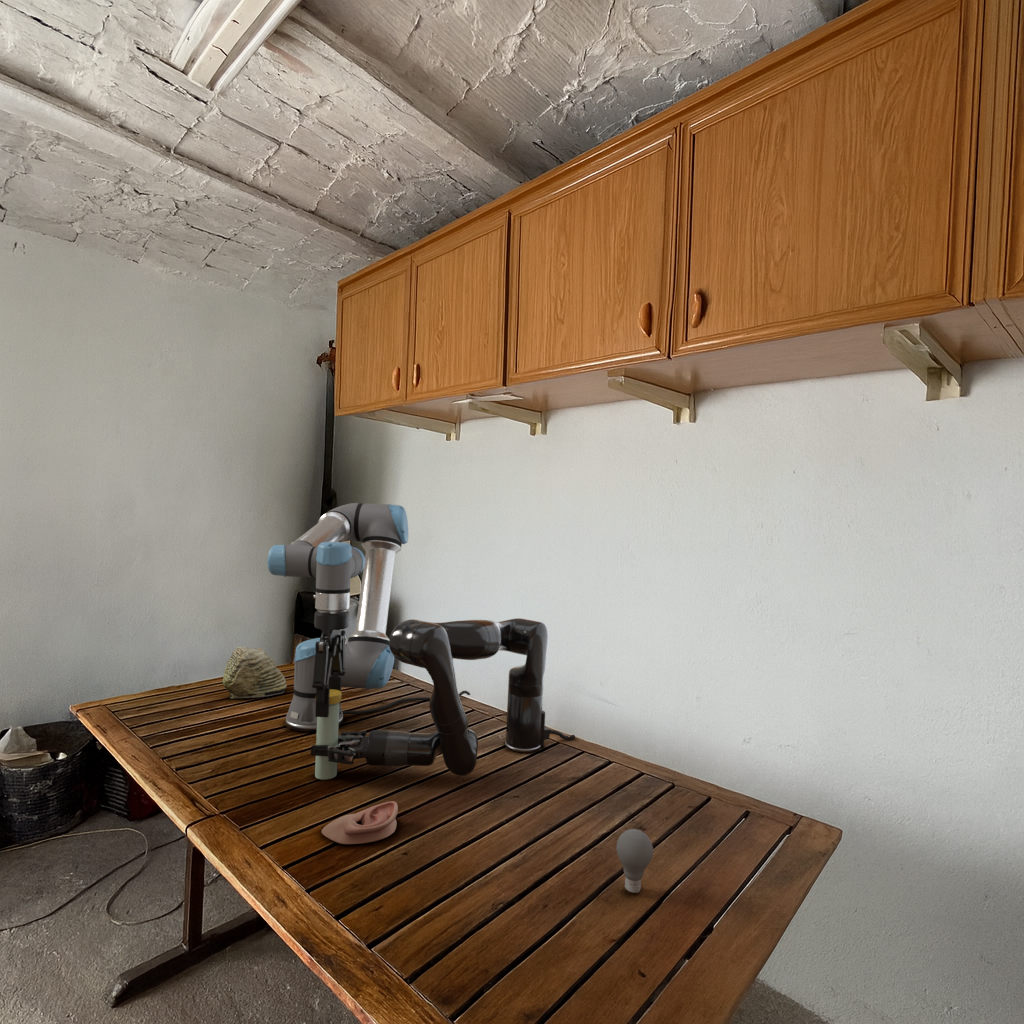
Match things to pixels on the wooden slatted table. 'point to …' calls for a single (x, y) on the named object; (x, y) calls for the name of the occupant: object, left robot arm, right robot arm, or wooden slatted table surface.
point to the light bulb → (634, 857)
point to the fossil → (252, 674)
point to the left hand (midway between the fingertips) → (328, 710)
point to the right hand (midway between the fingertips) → (315, 745)
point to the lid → (335, 696)
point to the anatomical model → (364, 825)
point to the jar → (327, 742)
